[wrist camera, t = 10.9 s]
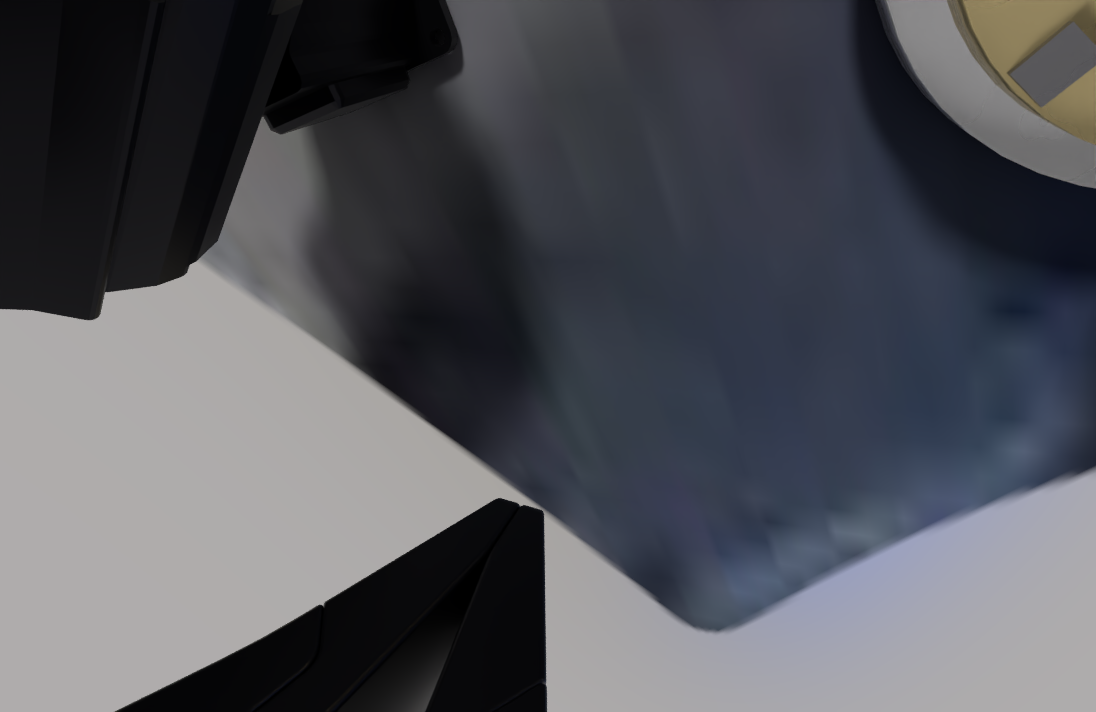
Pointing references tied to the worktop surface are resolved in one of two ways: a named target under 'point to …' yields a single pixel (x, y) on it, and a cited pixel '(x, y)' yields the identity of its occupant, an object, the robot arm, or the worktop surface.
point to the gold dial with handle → (1037, 55)
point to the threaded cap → (978, 93)
